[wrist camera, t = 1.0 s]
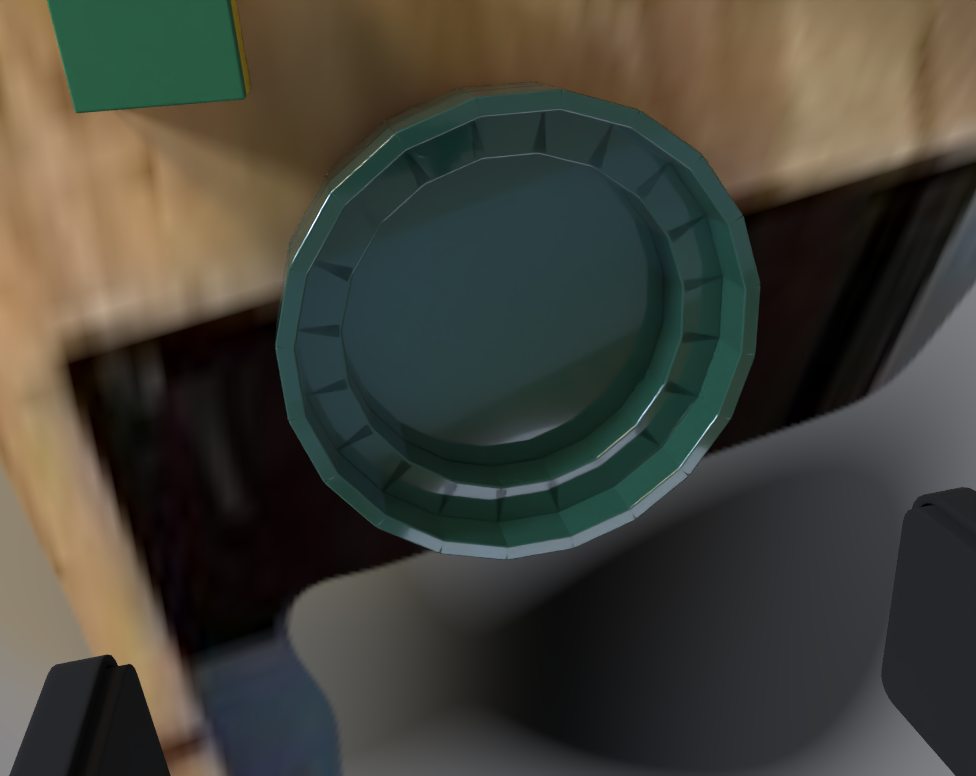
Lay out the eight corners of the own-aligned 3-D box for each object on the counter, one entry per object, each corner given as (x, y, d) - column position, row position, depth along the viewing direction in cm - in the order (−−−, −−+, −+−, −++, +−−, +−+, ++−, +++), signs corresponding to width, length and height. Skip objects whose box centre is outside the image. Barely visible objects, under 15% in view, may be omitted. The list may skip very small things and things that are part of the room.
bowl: (242, 104, 27) (233, 117, 23) (718, 64, 29) (777, 70, 26) (316, 532, 34) (318, 594, 30) (699, 469, 36) (744, 518, 33)
